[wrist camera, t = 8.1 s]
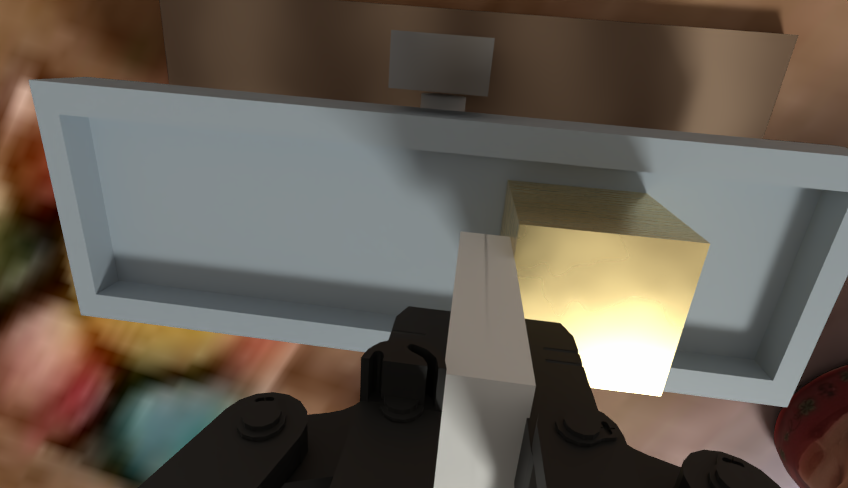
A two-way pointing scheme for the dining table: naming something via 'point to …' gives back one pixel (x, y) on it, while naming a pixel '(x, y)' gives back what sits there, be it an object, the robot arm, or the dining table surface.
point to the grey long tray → (417, 216)
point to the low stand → (482, 61)
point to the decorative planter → (816, 432)
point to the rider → (606, 276)
